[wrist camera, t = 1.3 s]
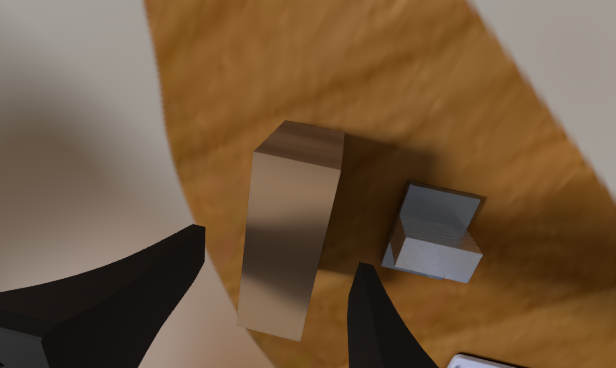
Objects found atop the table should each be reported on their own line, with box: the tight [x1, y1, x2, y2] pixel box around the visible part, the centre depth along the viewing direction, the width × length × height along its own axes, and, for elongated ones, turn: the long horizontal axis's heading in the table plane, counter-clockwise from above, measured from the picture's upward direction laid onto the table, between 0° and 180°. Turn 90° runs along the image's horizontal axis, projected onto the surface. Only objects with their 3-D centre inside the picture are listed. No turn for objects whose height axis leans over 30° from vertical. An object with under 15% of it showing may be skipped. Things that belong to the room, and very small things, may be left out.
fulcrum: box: [380, 181, 483, 283], centre depth 17 cm, size 6×4×3 cm, turn 170°
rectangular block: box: [237, 120, 345, 342], centre depth 16 cm, size 10×4×6 cm, turn 170°
